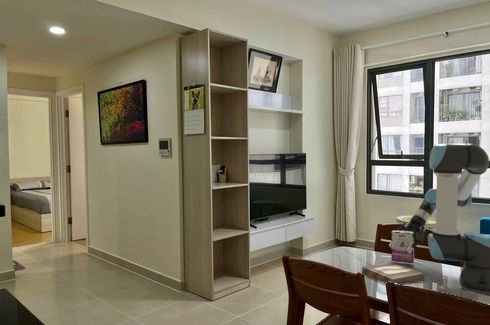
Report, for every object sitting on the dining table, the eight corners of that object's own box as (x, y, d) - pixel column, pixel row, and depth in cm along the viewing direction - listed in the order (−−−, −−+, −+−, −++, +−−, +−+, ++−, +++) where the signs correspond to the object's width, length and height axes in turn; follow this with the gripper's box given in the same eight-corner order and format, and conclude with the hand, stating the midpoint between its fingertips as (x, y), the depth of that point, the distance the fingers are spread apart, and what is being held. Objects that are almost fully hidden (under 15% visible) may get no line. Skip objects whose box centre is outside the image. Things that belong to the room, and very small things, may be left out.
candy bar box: (414, 261, 199) (414, 231, 199) (413, 263, 195) (413, 233, 194) (392, 258, 204) (392, 229, 204) (391, 261, 200) (391, 231, 200)
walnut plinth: (424, 279, 174) (424, 273, 174) (392, 285, 166) (392, 278, 166) (391, 267, 192) (391, 261, 192) (362, 272, 184) (362, 266, 184)
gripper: (442, 227, 195) (421, 259, 189) (406, 220, 216) (386, 248, 210) (435, 217, 192) (413, 250, 186) (399, 211, 214) (379, 240, 208)
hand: (399, 249), depth 198 cm, fingers closed on candy bar box, 11 cm apart
